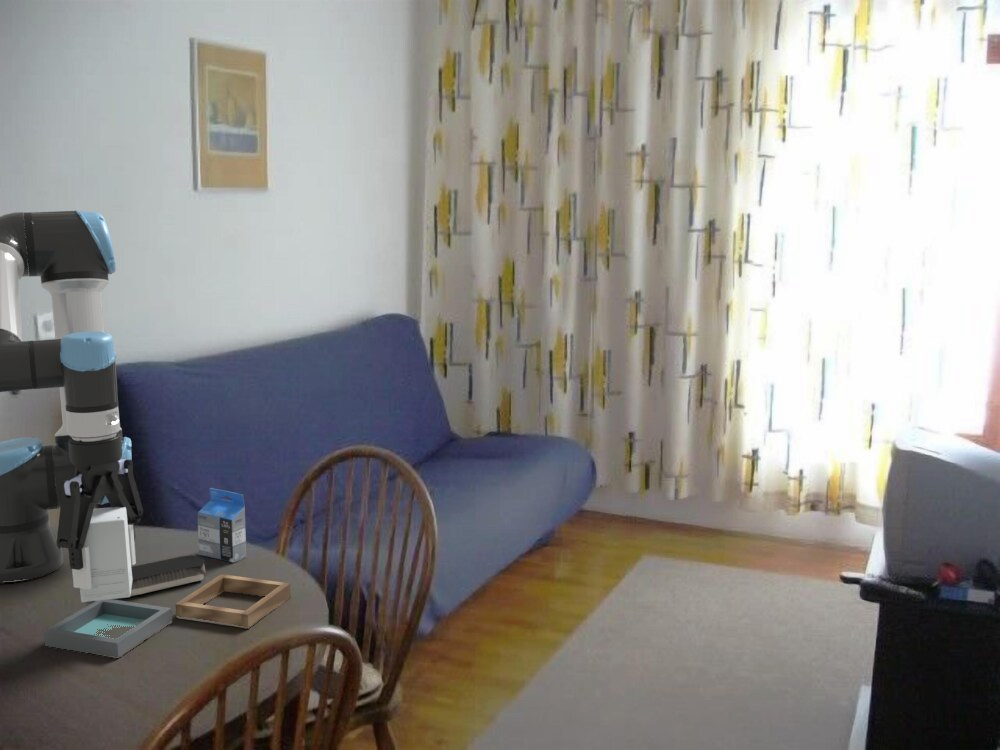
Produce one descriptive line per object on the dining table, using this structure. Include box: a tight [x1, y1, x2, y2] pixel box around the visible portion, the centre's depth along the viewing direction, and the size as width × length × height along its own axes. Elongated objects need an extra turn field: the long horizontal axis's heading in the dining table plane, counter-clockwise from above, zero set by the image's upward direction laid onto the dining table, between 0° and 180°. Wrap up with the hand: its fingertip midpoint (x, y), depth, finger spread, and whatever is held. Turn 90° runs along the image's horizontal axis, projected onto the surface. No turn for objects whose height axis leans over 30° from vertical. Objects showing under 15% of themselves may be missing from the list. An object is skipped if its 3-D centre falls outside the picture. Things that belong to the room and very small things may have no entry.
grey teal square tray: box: [43, 599, 173, 657], centre depth 169 cm, size 13×13×2 cm
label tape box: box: [197, 487, 247, 563], centre depth 201 cm, size 9×4×12 cm, turn 60°
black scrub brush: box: [130, 555, 207, 597], centre depth 188 cm, size 16×8×4 cm, turn 125°
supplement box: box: [76, 506, 133, 603], centre depth 166 cm, size 7×7×13 cm
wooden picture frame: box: [174, 573, 292, 627], centre depth 179 cm, size 13×13×2 cm
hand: (105, 575), depth 167 cm, fingers closed on supplement box, 10 cm apart
